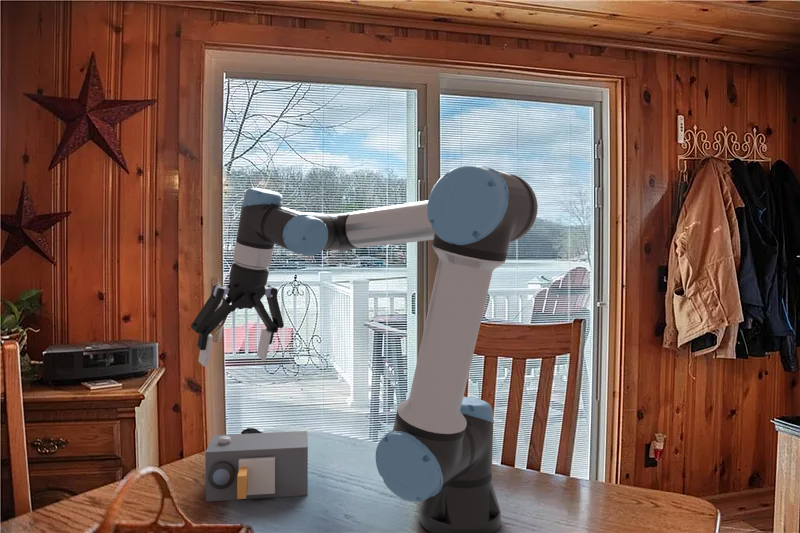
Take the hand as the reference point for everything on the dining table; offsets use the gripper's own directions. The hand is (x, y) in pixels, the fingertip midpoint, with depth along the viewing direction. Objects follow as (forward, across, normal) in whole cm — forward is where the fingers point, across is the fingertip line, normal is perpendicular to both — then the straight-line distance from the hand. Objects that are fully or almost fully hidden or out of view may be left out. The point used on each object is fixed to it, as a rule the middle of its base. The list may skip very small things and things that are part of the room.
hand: (233, 360), depth 122 cm
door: (+21, 0, +18) cm, 28 cm away
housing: (+24, -4, +12) cm, 27 cm away
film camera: (+27, -11, 0) cm, 29 cm away
